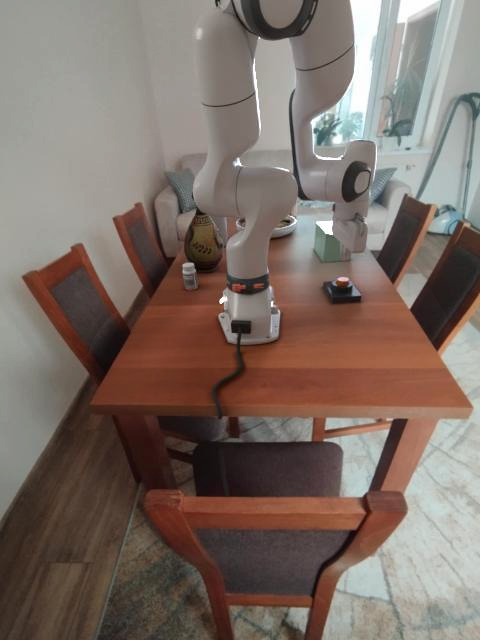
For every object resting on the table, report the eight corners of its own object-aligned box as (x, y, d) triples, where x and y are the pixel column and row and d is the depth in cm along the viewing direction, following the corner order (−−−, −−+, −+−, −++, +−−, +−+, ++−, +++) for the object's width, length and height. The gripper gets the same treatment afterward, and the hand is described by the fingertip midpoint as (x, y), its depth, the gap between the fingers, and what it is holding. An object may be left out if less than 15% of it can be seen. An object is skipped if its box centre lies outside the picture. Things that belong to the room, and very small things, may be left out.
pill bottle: (192, 283, 120) (188, 261, 115) (201, 286, 118) (197, 263, 113) (182, 288, 117) (178, 265, 112) (191, 291, 115) (187, 268, 110)
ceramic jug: (225, 275, 125) (217, 186, 106) (185, 277, 125) (170, 189, 107) (226, 258, 138) (219, 177, 120) (190, 260, 139) (177, 180, 120)
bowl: (304, 226, 170) (305, 209, 165) (281, 243, 150) (282, 225, 145) (252, 221, 182) (252, 205, 177) (225, 237, 162) (224, 220, 157)
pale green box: (351, 262, 129) (356, 232, 122) (324, 264, 129) (327, 234, 122) (338, 247, 143) (342, 220, 136) (313, 248, 143) (316, 221, 136)
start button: (349, 286, 104) (350, 281, 103) (338, 287, 104) (339, 281, 103) (346, 281, 107) (346, 276, 106) (335, 282, 107) (335, 277, 106)
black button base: (360, 301, 103) (362, 290, 101) (332, 304, 103) (333, 292, 101) (348, 285, 113) (350, 274, 110) (322, 287, 112) (323, 276, 110)
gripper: (377, 217, 84) (367, 270, 92) (350, 202, 100) (344, 248, 109) (353, 219, 84) (345, 271, 92) (330, 203, 100) (325, 249, 108)
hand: (344, 258), depth 101 cm, fingers closed
